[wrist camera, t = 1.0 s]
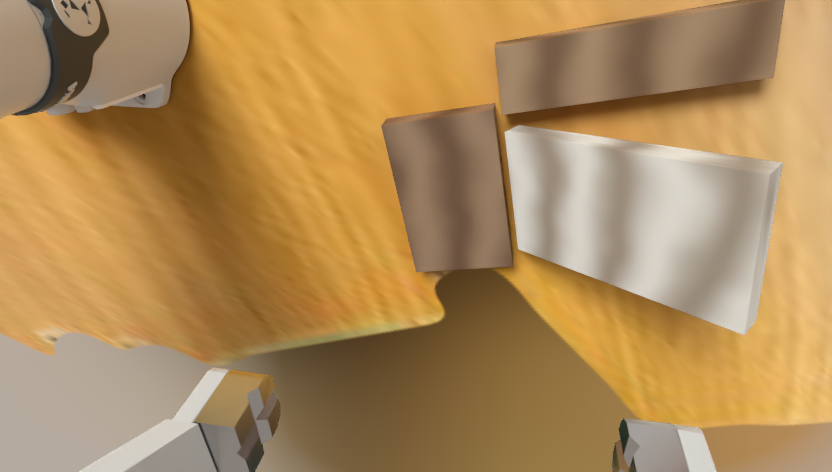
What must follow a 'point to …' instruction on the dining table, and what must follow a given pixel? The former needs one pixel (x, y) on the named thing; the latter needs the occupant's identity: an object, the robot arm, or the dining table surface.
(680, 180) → the ash plank
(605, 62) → the walnut boards
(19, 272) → the dining table surface
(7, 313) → the dining table surface
